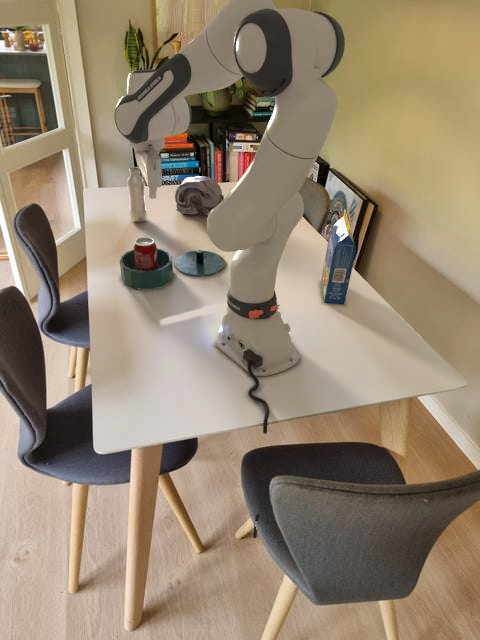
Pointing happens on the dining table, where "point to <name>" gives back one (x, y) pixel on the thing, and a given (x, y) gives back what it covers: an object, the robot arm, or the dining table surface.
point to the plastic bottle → (136, 195)
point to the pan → (146, 278)
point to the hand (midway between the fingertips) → (149, 190)
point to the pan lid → (199, 263)
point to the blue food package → (338, 262)
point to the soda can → (145, 254)
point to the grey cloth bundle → (198, 195)
